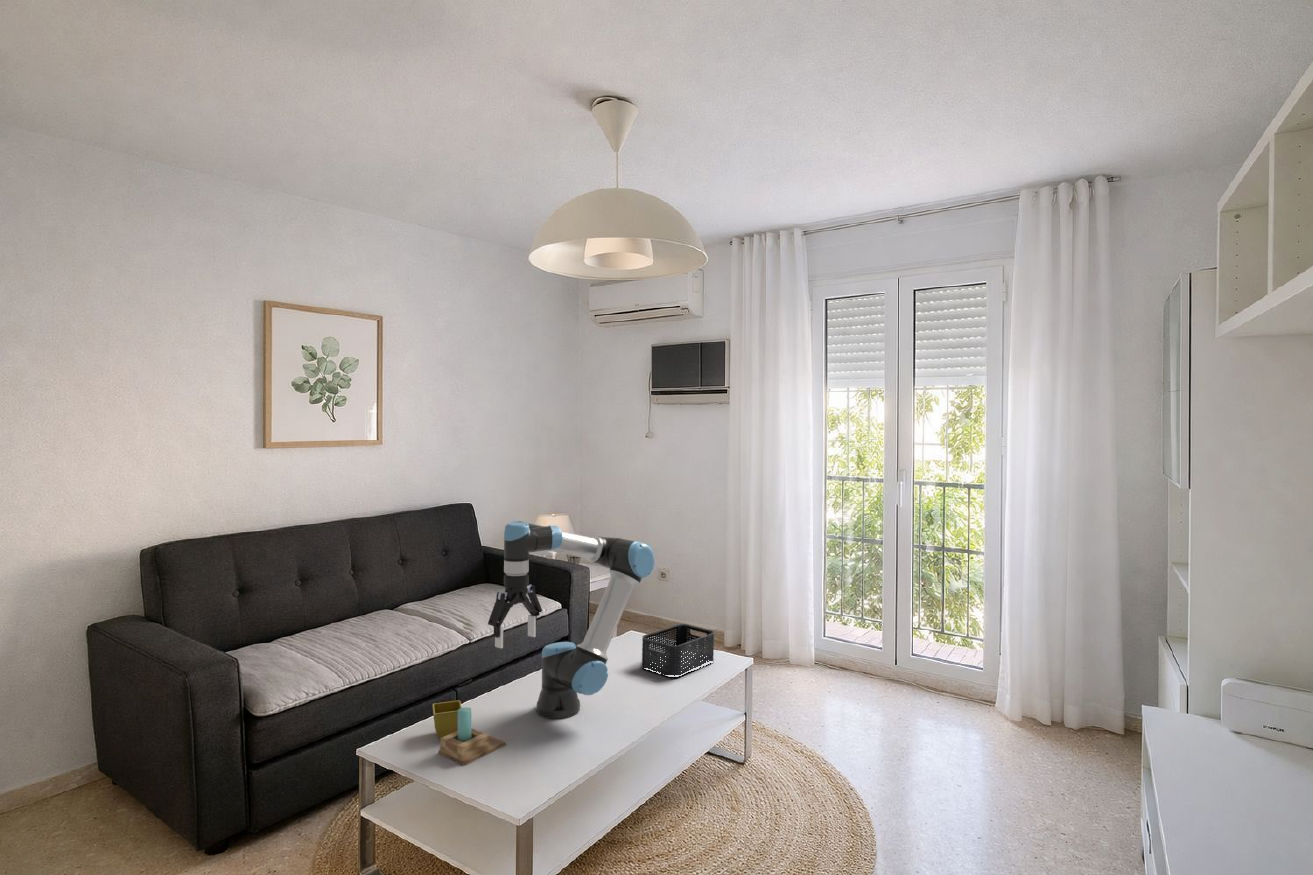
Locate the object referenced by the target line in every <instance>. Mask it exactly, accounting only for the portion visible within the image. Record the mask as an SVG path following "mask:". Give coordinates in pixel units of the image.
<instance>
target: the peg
mask: <svg viewBox="0 0 1313 875" xmlns="http://www.w3.org/2000/svg"><path fill="white" fill-rule="evenodd" d="M471 728H472V708H471V707H466V706H465V707H462V708H460V709H458V740H459V741H461V742H466V741H468V740H470V739H472V738H471Z"/></svg>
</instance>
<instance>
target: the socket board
mask: <svg viewBox="0 0 1313 875" xmlns="http://www.w3.org/2000/svg"><path fill="white" fill-rule="evenodd" d="M471 738H472V739H470V740H468V741H466V742H461V741H459V740H458V731H456V732H454V733H451V734H449V735H447V736H444V737H442V738H440V749H439V750H438V751H437V752H438V754H439V755H440V756H443V757H445V758H448V759H449V760H452V761H454V762H456V763H458V764H461V765H462V766H466V765H468V764H470V763H472V762H475V761H476V760H478V759H480V758H482V757H484V756H487V755H489V754H491V753H493V752H495V751H496V750H499V749H501V748H502V747H504V746H506V745H507V743H506V741H505V740H502V739H499V738H498V737H495V736H492V735H489V734H487V733H484V732H482V731H480V730H477V729H474V728H473V727H471Z"/></svg>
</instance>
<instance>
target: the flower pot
mask: <svg viewBox="0 0 1313 875" xmlns="http://www.w3.org/2000/svg"><path fill="white" fill-rule="evenodd" d="M460 708H463V707H462V702H461V700H452V701H451V700H450V701H445V702H437V703H432V715H433V722H434V723H433V724H434V730H435V733H436V735H437V737H438V738H439V739H441V738H442V737H444V736H447V735H449V734H451V733H454V732H456V731H458V709H460Z"/></svg>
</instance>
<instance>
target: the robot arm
mask: <svg viewBox="0 0 1313 875" xmlns="http://www.w3.org/2000/svg"><path fill="white" fill-rule="evenodd" d="M503 532H504V533H503V541H504V542H503V563H504V564H503V573H504V575H503V586H504V589H505V590H504V592H500V591H498V592H496V597H495V598H496V599H495V602H494V606H493V607H492V609H491V614H490V616H489V619H488V622H487V625H488V626H491V627H492V626H493V637H494V647H495V648H498V649H503V648H504V626H503V625H502V624H503V623H504V620H505V619H506V617H507V615H508V614H509V612H510V610H511V608H513V607H514V606H515V605H518V604H522V605H523V606H524V608H525V609H526V610H527V612H528V613H529V614H528V615H527V636H528V637H531V638H536V632H537V631H536V628H537V627H536V626H537V625H538V624H537V623H538V621H537V620H538V618H537V617H539V616H540V613H542V611H543V608H542V606H541V604H540V601H539V598H538V596H537V593H536V587H535V585H533V584H529V583H530V582H529V580H530V578H529V577H530V576H529V571H530V570H529V569H530V566H529V565H530V563H529V561H530V553H535V552H543V551H544V552H545V551H549V552H554V553H558V554H564V555H569V556H573V557H578V558H583V559H586V560H587V562H590V563H594V564H596V565H600V566H602V567H605V568H608V569H609V571H608V572H609V574H610V579H609V581H608V584H607V586H606V588H605V591H604V593H603V596H602V597H601V600H600V602H599V604H598V607H597V609H596V612H595V613H594V614H593V618H592V620H591V623H590V626H589V627H588V629H587V632H586V634H585V636H584V639H583V641H582V642H581V643H578V644H577V645H576V644H575V643H574V642H572V641H571V642H570V641H561V642H560V641H559V642H554V643H553V642H552V643H549V644H547V645H545V646H544V647H543V648H542V651H541V652H542V653H541V689H540V693H539V696H538V700H537V702H536V708H535V709H536V713H537V714H538V716H541V717H542V718H547V719H565V718H569V717H572V716H575V715H577V714H578V713H579V712H580V711H581V710H580V709H581V701H580V699H579V696H578V694H579V695H580V694H581V695H584V696H593V695H594V694H596V693H598V692H600V691H601V690H602V689H603V688H604V686H605V685H606V683H607V680H608V677H609V672H608V671H609V669H608V666H607V662H608V656H607V650H608V648H609V646H610V644H611V641H612V639H613V637H614V634H615V632H616V629H617V627H618V625H619V623H620V620H621V618H622V615H623V612H624V611H625V608H626V605H627V603H628V601H629V598H630V596H631V593H632V592H633V589H634V587H636V586H638V585H640V584H641V581H642V579H643V578H646V577H648V576H650V574H652V572H653V570H654V567H655V558H656V557H655V555H654V552H653V549H652V548H651V546H649V545H648V544H647V543H644V542H641V541H638V540H637V541H635V540H629V539H624V538H621V537H605V536H598V535H592V536H586V535H581V534H577V533H572V532H570V531H569V532H568V531H564V530H562V529H561V527H560V526H557V525H545V526H544V525H538V524H533V523H528V522H524V521H520V520H514V521H511V522H509V523H507V524H505V526H504V531H503Z"/></svg>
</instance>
